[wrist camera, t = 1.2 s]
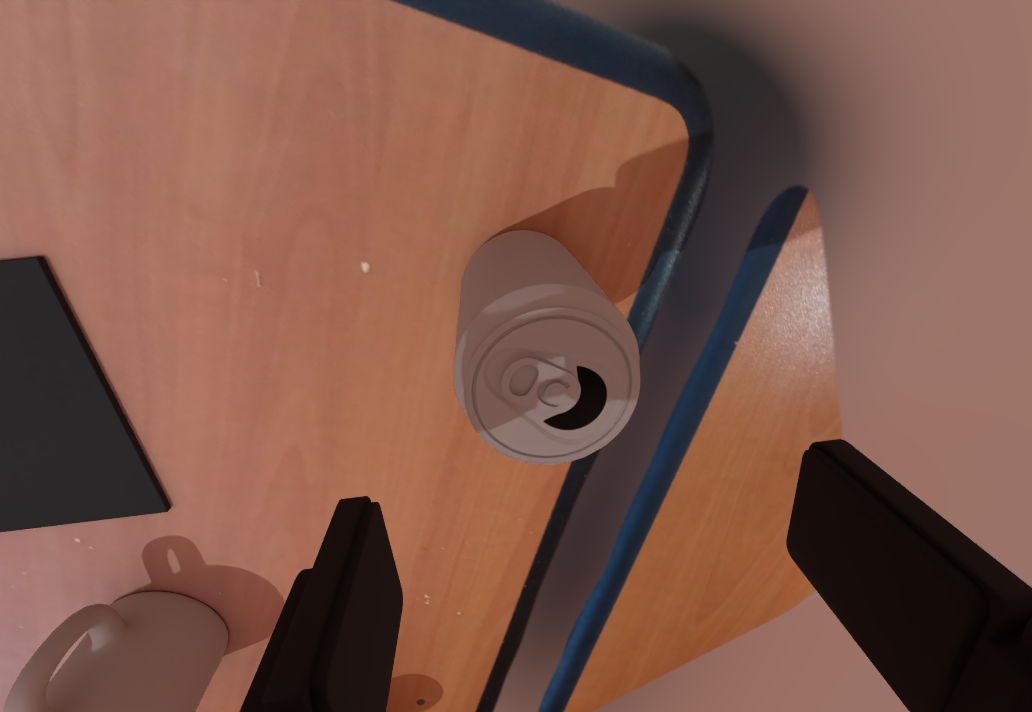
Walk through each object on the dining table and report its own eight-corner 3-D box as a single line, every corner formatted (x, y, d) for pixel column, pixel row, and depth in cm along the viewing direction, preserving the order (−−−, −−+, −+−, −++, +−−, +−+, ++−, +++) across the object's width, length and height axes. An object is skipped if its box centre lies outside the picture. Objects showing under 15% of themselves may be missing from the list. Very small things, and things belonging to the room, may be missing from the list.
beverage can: (543, 357, 28) (589, 499, 17) (442, 312, 26) (418, 437, 15) (600, 260, 26) (693, 350, 15) (492, 204, 24) (509, 258, 13)
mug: (244, 662, 36) (158, 859, 26) (129, 674, 36) (-4, 880, 26) (192, 546, 31) (60, 736, 21) (57, 559, 31) (-142, 759, 21)
